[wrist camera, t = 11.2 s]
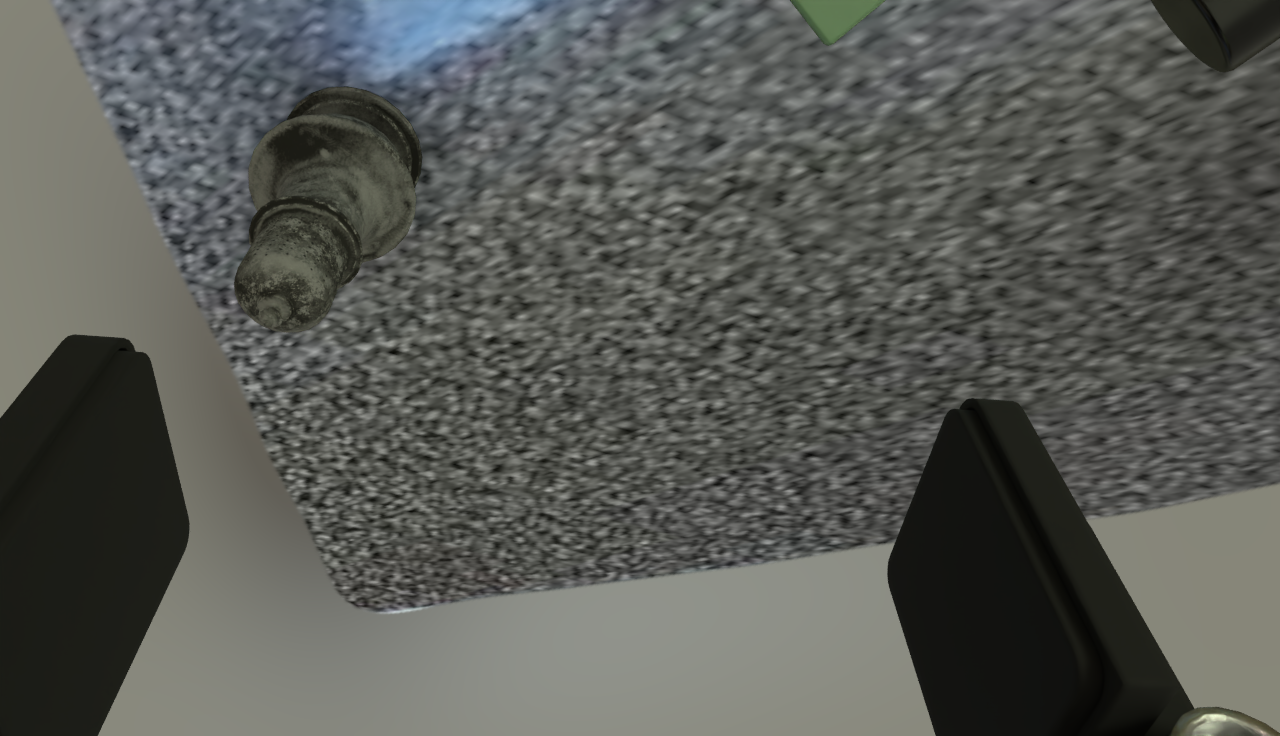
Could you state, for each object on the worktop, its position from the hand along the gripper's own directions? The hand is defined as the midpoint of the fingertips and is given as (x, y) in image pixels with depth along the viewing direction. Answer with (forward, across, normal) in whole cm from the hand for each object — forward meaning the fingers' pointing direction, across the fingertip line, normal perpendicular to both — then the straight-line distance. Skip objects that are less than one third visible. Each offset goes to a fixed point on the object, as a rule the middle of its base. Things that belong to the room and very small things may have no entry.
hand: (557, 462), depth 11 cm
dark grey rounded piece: (+27, +8, +8) cm, 29 cm away
